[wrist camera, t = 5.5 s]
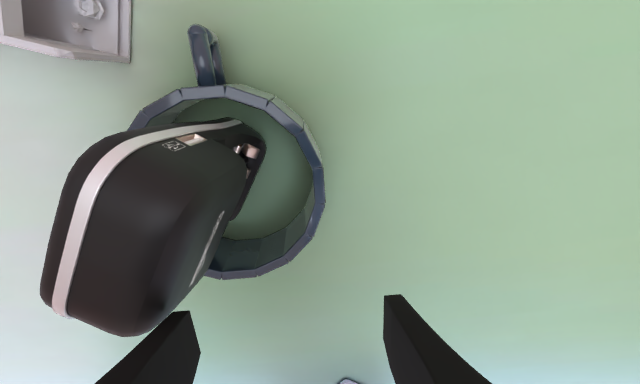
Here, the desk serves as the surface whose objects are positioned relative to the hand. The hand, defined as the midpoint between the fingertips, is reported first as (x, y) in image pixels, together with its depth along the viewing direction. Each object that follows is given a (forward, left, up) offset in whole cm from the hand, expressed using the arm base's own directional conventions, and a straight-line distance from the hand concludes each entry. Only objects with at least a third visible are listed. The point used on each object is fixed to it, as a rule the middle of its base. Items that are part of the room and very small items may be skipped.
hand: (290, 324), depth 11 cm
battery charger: (0, +5, -10) cm, 11 cm away
